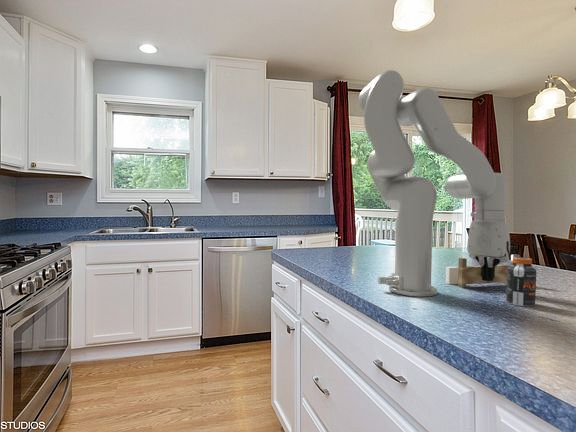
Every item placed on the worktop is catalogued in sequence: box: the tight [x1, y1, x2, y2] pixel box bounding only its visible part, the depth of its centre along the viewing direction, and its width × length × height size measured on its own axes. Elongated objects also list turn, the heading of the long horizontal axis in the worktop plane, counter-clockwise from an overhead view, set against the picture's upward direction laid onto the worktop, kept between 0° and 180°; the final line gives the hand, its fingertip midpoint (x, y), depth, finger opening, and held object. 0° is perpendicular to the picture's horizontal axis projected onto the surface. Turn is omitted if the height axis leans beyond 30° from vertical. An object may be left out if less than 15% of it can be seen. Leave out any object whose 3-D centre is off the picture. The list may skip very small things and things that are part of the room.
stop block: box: [444, 266, 458, 285], centre depth 108 cm, size 3×2×5 cm, turn 97°
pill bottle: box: [505, 256, 537, 307], centre depth 86 cm, size 6×6×11 cm
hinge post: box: [500, 253, 521, 285], centre depth 107 cm, size 5×5×9 cm
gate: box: [457, 257, 510, 287], centre depth 104 cm, size 18×2×8 cm, turn 105°
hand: (487, 280), depth 101 cm, fingers closed
